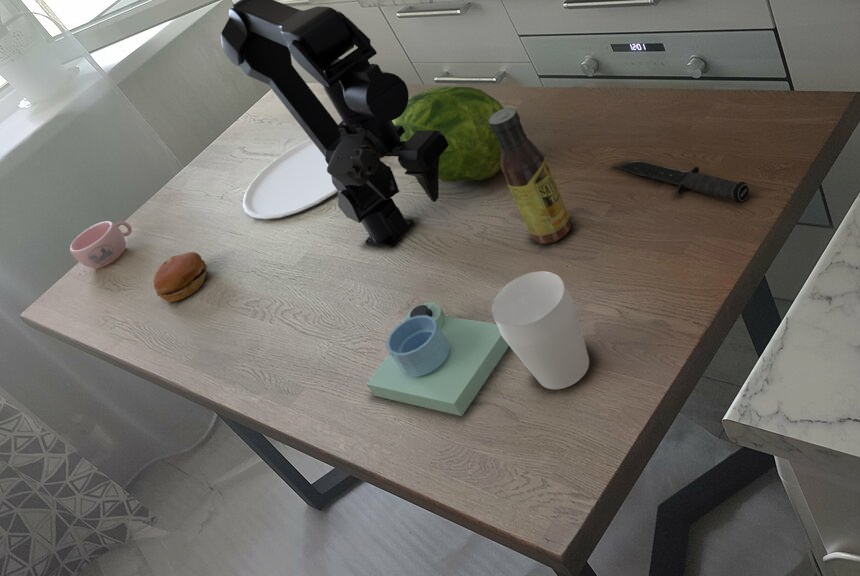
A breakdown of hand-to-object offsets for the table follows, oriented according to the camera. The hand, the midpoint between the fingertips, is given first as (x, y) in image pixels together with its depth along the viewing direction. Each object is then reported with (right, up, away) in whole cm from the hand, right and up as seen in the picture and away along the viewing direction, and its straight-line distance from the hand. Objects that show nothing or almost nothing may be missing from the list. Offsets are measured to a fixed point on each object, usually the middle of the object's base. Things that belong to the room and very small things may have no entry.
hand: (411, 199), depth 120 cm
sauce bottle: (+20, -5, +3) cm, 21 cm away
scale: (+6, -23, -11) cm, 26 cm away
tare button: (+3, -17, -8) cm, 19 cm away
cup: (+21, -22, -19) cm, 36 cm away
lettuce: (+5, +8, +26) cm, 28 cm away
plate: (-27, +10, +47) cm, 55 cm away
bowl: (+4, -22, -12) cm, 25 cm away
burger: (-45, -12, +32) cm, 57 cm away
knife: (+38, +2, +1) cm, 38 cm away
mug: (-69, -6, +53) cm, 87 cm away
